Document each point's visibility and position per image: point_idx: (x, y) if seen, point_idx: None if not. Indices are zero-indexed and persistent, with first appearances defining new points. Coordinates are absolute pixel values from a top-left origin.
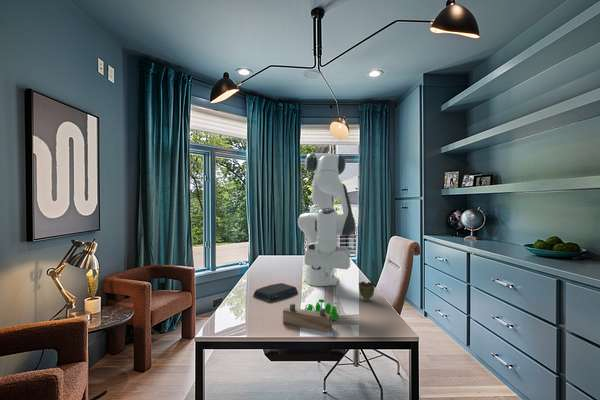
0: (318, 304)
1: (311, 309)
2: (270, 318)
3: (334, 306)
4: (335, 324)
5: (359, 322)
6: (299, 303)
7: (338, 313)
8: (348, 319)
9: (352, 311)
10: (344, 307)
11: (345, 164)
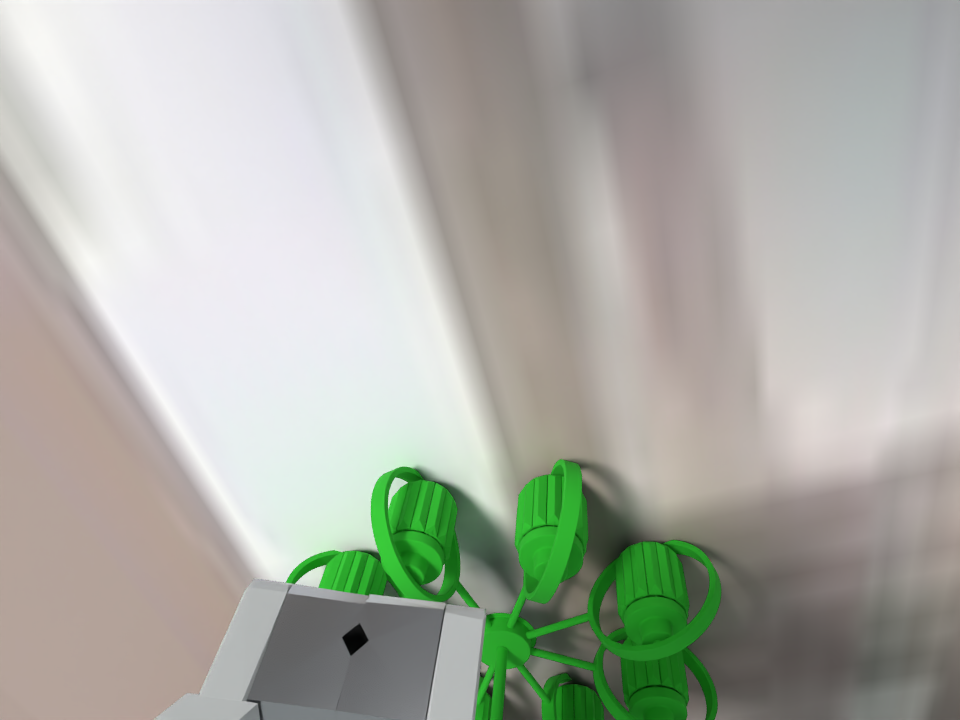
0: None
1: None
2: (81, 710)
3: (661, 657)
4: None
5: (949, 637)
6: (60, 285)
7: (701, 561)
8: (822, 597)
9: (895, 364)
10: (768, 239)
11: None
